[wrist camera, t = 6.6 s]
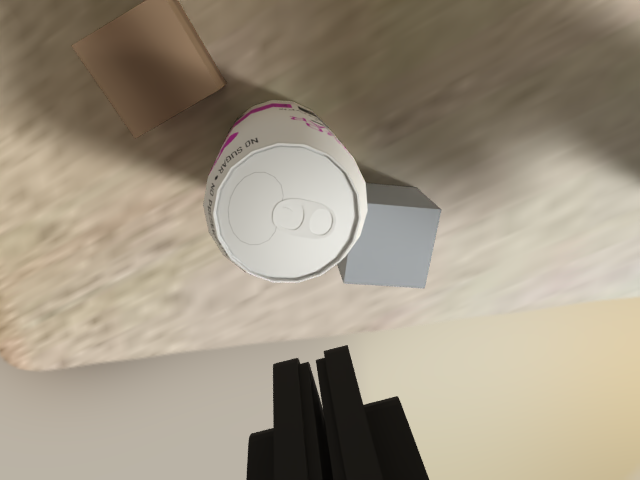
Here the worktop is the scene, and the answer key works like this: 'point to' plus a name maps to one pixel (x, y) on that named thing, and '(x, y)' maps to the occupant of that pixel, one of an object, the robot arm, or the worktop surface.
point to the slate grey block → (393, 239)
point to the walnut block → (150, 64)
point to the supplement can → (284, 194)
